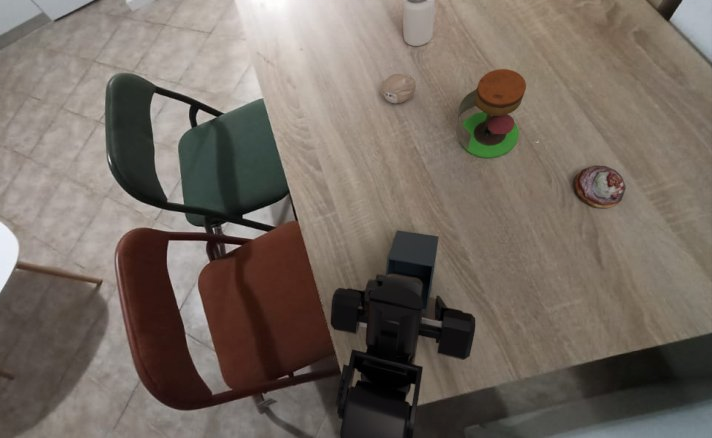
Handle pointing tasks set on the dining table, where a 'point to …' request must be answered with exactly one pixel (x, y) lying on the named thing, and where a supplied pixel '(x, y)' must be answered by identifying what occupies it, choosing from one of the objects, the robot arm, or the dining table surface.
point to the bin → (414, 260)
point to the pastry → (599, 186)
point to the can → (418, 21)
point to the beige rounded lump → (398, 88)
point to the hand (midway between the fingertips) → (406, 291)
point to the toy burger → (491, 114)
